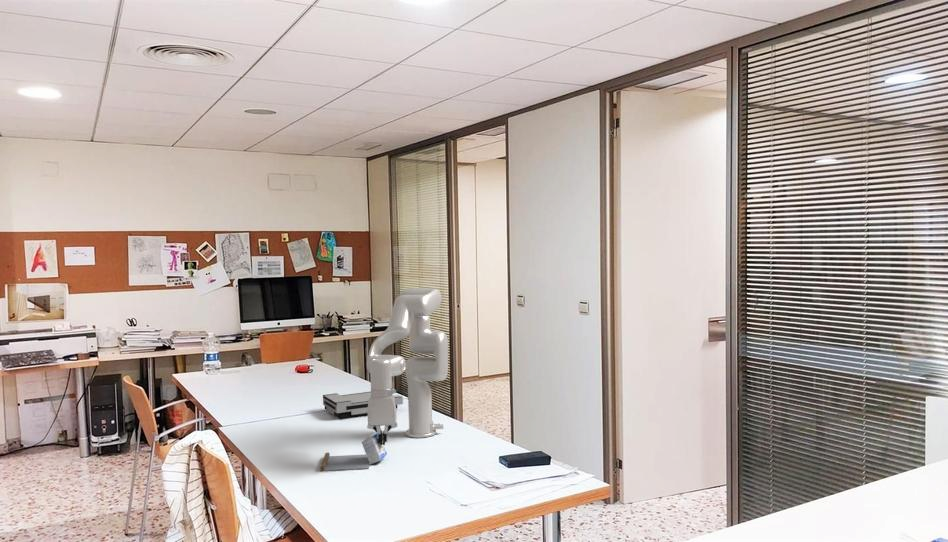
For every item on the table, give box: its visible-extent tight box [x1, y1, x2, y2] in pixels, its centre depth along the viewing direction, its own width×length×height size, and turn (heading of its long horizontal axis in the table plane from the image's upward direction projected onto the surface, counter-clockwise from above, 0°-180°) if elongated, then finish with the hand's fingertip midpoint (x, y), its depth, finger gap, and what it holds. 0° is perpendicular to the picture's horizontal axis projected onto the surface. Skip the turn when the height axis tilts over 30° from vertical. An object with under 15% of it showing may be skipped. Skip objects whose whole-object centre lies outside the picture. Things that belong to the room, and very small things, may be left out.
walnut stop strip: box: [319, 452, 331, 473], centre depth 241 cm, size 1×16×2 cm, turn 6°
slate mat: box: [323, 453, 370, 472], centre depth 241 cm, size 16×16×1 cm
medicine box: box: [361, 432, 388, 465], centre depth 243 cm, size 8×4×9 cm, turn 171°
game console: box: [322, 391, 404, 420], centre depth 320 cm, size 21×32×8 cm, turn 119°
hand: (382, 444), depth 242 cm, fingers closed
